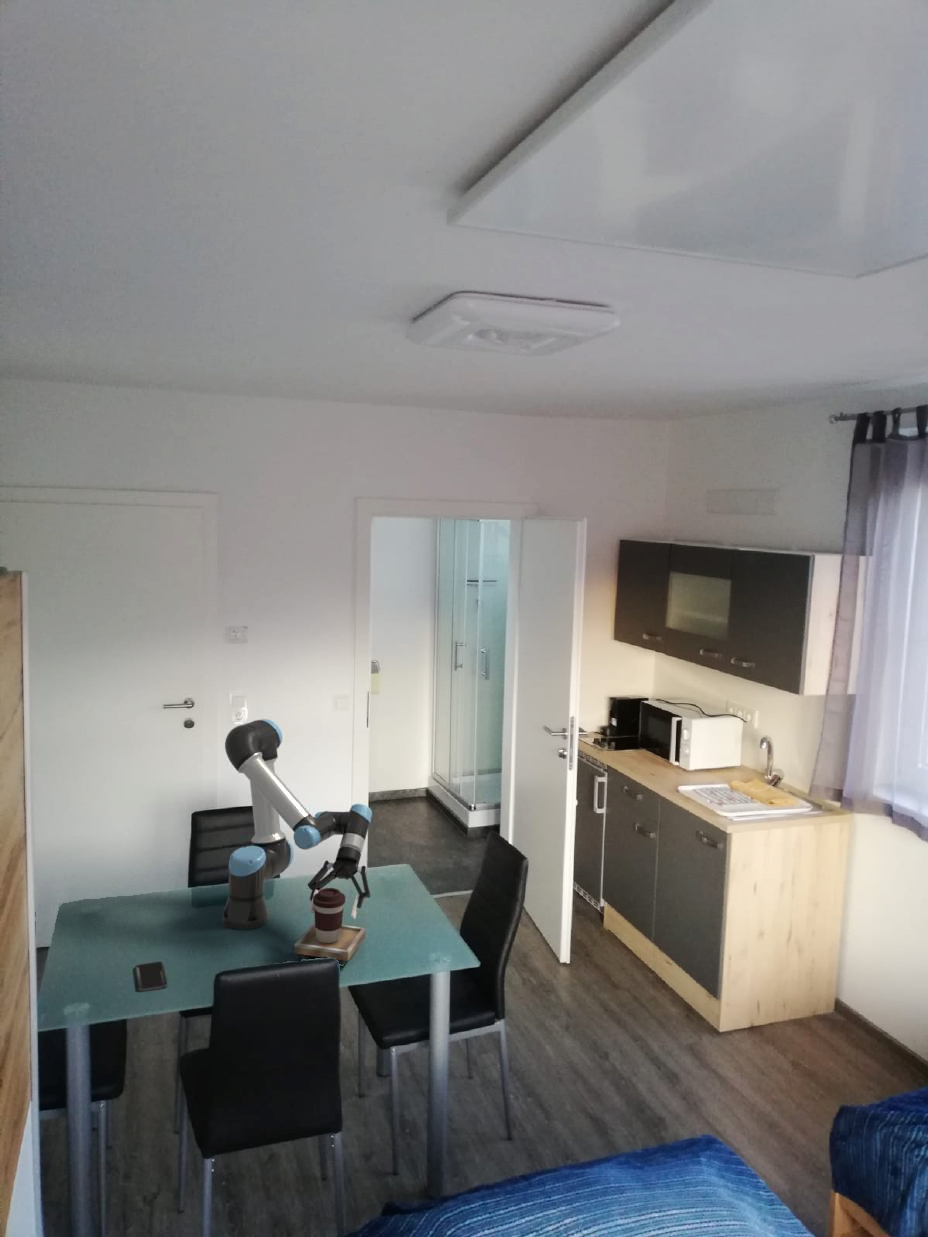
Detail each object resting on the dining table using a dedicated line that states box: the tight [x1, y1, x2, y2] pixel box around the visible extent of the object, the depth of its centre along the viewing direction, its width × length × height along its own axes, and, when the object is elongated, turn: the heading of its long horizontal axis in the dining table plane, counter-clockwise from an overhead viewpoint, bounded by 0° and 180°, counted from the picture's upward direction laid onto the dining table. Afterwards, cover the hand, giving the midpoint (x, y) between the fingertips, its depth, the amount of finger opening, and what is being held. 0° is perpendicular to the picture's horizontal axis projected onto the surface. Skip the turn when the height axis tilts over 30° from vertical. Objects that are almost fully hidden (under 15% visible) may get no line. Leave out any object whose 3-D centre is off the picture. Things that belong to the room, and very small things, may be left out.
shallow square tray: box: [293, 921, 367, 965], centre depth 277 cm, size 17×17×6 cm
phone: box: [134, 961, 168, 993], centre depth 258 cm, size 8×1×15 cm
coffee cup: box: [313, 887, 346, 943], centre depth 276 cm, size 10×10×15 cm
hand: (332, 914), depth 276 cm, fingers open, 13 cm apart
